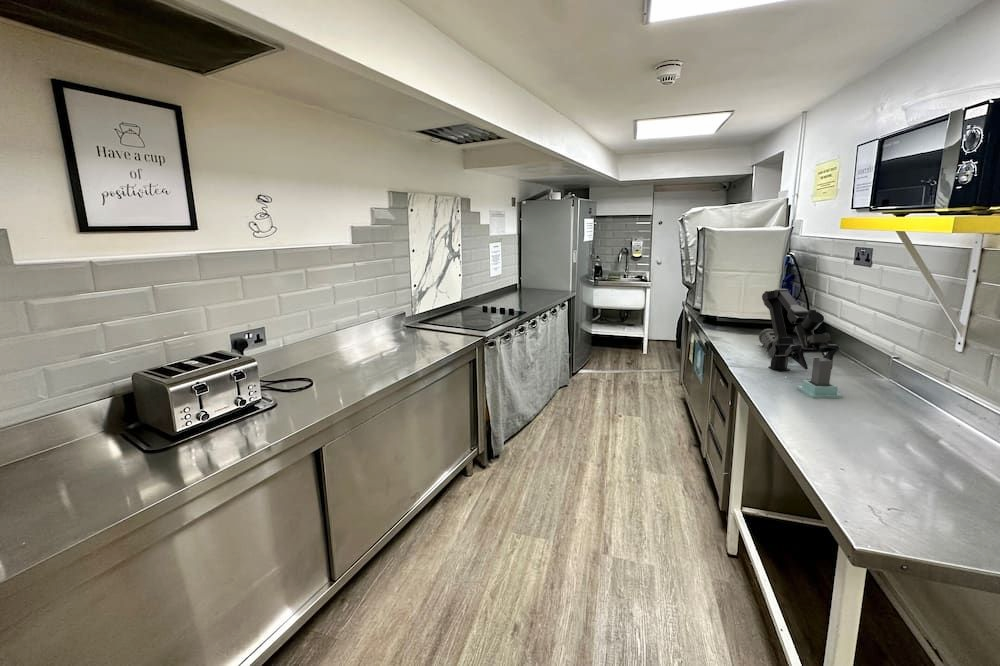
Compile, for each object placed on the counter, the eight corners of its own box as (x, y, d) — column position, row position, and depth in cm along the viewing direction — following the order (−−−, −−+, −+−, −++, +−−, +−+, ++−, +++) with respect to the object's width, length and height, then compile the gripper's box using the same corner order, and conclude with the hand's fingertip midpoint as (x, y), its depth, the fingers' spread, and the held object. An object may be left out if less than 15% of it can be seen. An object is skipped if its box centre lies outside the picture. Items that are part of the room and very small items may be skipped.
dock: (796, 388, 187) (797, 379, 186) (824, 388, 186) (826, 378, 185) (812, 397, 176) (813, 388, 175) (842, 397, 175) (843, 388, 174)
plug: (810, 388, 183) (813, 357, 180) (821, 388, 183) (825, 357, 180) (816, 392, 179) (820, 361, 176) (828, 392, 178) (832, 360, 176)
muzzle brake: (765, 358, 229) (767, 338, 227) (757, 345, 254) (758, 327, 252) (786, 359, 226) (789, 339, 223) (776, 346, 251) (778, 328, 249)
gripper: (791, 326, 183) (804, 359, 175) (840, 325, 181) (855, 359, 173) (779, 340, 192) (790, 372, 184) (826, 339, 190) (839, 372, 182)
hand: (818, 369), depth 181 cm, fingers open, 9 cm apart
